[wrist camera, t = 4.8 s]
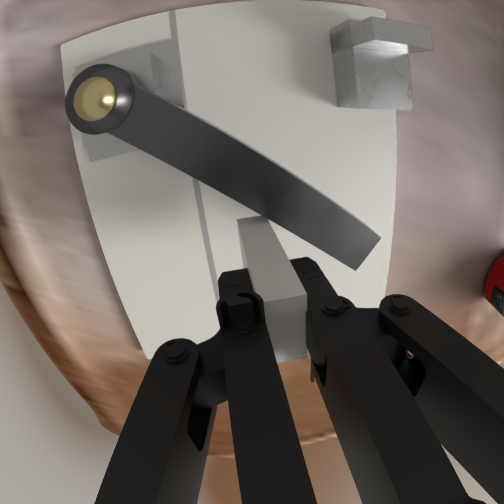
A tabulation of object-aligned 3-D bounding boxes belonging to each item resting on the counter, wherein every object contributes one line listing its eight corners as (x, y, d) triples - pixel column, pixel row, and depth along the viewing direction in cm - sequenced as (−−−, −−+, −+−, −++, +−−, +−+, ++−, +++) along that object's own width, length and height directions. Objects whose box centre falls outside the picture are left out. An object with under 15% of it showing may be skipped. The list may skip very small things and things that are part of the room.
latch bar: (73, 115, 11) (50, 119, 9) (102, 59, 10) (83, 52, 8) (338, 260, 17) (355, 283, 15) (370, 218, 16) (391, 236, 14)
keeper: (379, 34, 14) (429, 22, 9) (386, 107, 16) (438, 114, 12) (328, 29, 14) (370, 8, 9) (337, 107, 16) (381, 111, 11)
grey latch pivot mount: (175, 40, 13) (168, 27, 10) (189, 139, 16) (184, 145, 13) (76, 67, 13) (53, 63, 10) (92, 161, 16) (72, 172, 13)
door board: (377, 13, 14) (385, 9, 13) (375, 311, 25) (380, 318, 24) (67, 47, 13) (59, 44, 12) (149, 351, 24) (147, 360, 23)
